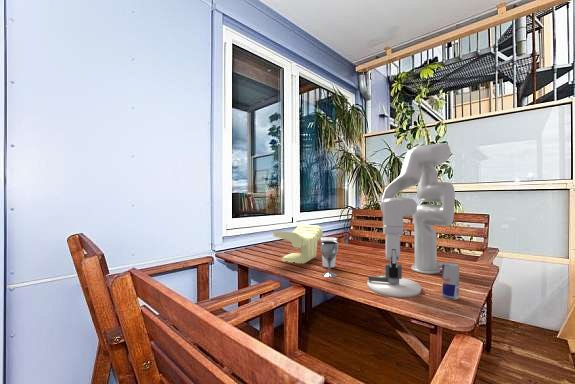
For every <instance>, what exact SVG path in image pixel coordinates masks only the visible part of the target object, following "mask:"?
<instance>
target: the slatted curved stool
mask: <svg viewBox="0 0 575 384" xmlns="http://www.w3.org/2000/svg"><path fill="white" fill-rule="evenodd" d="M296 226H297V227H296V228H295V229H294V230H293V231H280V230H279V231H278V230H273V231H272V234H273V237H274V238H278V239H281V240H286V241H289V242H290V243H291V245H292V248H298V249H300V253H294V252H292V253H289V254H286V255H285V256H282V257H281V258H282V259H281V262H285V261H288V262H287V263H293V262H295V263H294V264H301V263H302V264H306V263H308V262H309V261H311V260H313V259H314V258H316V256H317V250H318V242H319V240H321V238H324V237H323V236H324V235H323V234H324V233H323V231H324V230H323V227H321V226H320V225H314V224H298V225H296Z"/></svg>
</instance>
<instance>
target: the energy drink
mask: <svg viewBox="0 0 575 384" xmlns="http://www.w3.org/2000/svg"><path fill="white" fill-rule="evenodd" d="M442 263H443V265H442V267H441V295H442V297H443V298H444V299H446V300H450V301H451V300H452V301H457V300H459V299H460V266H459V264H458V263H454V262H442Z"/></svg>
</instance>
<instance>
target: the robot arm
mask: <svg viewBox="0 0 575 384" xmlns="http://www.w3.org/2000/svg"><path fill="white" fill-rule="evenodd" d="M451 153H452V152H451V146H449V145H448V143H446V142H442V143H433V144H431V143H430V144H423V145H417V146H414V147H412V148H411V149H409V150H408V151H407V152H406V154H405V157H404V161H403V163H402V167H401V169H400V174H399V176H397V177H396V178H395V179H394V180H392V181H391V183H389V184H388V185H387V186H386V187H385V189H384V191H383V194H382V196H381V200H380V211H381V212H382V220H383V221H382V234H384V235H385V240H384V241H385V260H386V261H387V260H388V261H389V263H388V264H390V267H389V277H394V278H398V267H397V264H398V261H399V260H400V259H401V253H400V252H401V236H402V235H404V217H412V220H413V221H412V222H413V227H414V228H413V229H414V264H412V265H411V266H410V268H411V270H412V271H414V272H417V273H421V274H426V275H427V274H428V275H430V274H432V275H433V274H440V273H441V269H442V265H443V263H444V262H439V261H437V259H438V258H437V257H438V256H437V252H438V251H437V243H438V242H437V231H436V230H435V228H434V227H433V226H439V227H441V226H442V227H449V226H451V225H452V224H453V222H454V217H455V216H454V215H455V202H456V201H455V199H456V198H455V197H456V192H455V191H456V190H455V186H454V185H453V184H452V183H451V182H450V181H448V182H447V181H438V178H439V177H438V174H439V173H438V170H437V169H436V166H440V165H442V164H444V163H445V162H447V161H449V159H450V156H451ZM416 185H417V189H416V197H417V199H418V201H420V202H427V203H441V204H426V203H425V204H424V203H423V204H417V202H416V200H414V199H412V198H410V197H396V195H397V194H399V193H401V192H402V191H404V190H407V189H409V188H412V187H414V186H416Z"/></svg>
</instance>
